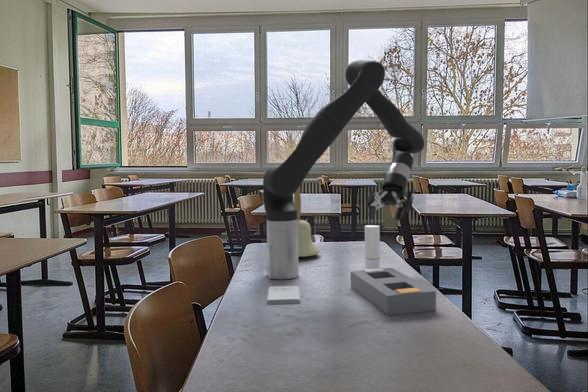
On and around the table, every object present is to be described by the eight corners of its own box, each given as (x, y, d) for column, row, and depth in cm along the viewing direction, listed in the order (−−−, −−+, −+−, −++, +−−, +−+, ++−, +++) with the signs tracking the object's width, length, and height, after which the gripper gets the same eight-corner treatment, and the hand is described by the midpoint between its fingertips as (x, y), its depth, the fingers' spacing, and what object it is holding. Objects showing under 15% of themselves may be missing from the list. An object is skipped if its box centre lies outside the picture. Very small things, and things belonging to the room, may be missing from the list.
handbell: (269, 258, 171) (267, 187, 168) (291, 250, 183) (290, 185, 181) (306, 262, 163) (305, 188, 160) (327, 254, 175) (326, 185, 173)
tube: (379, 278, 140) (379, 227, 138) (364, 278, 140) (364, 227, 139) (380, 274, 144) (379, 225, 142) (365, 274, 145) (365, 225, 143)
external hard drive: (267, 306, 119) (268, 291, 131) (300, 305, 119) (299, 291, 131) (266, 299, 119) (268, 285, 131) (300, 298, 119) (298, 285, 131)
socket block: (435, 310, 110) (435, 289, 110) (387, 315, 108) (387, 294, 107) (391, 283, 134) (391, 266, 133) (350, 287, 131) (350, 270, 131)
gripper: (373, 171, 159) (359, 210, 150) (415, 171, 151) (403, 212, 143) (379, 186, 164) (366, 224, 155) (420, 187, 156) (409, 227, 147)
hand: (383, 218), depth 149 cm, fingers open, 8 cm apart
